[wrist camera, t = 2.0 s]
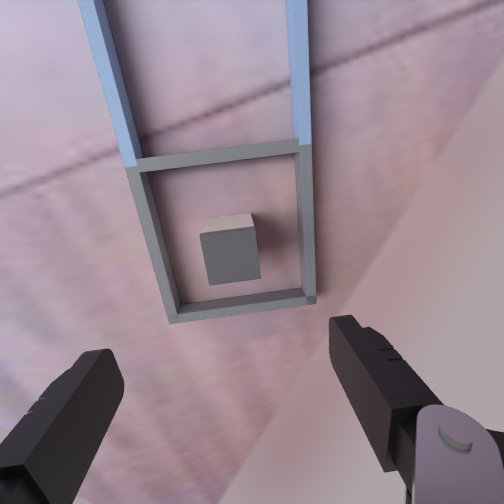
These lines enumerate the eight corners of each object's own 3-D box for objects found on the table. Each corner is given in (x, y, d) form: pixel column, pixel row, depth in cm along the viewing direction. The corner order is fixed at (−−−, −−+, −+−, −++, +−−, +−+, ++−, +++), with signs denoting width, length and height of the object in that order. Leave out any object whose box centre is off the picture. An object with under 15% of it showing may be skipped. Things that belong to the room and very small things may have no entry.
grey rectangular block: (250, 212, 23) (255, 228, 17) (255, 252, 24) (261, 278, 19) (208, 218, 23) (199, 236, 17) (215, 257, 24) (209, 285, 19)
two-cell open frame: (295, -101, 16) (302, -131, 14) (311, 294, 26) (316, 303, 25) (67, -77, 16) (47, -105, 14) (173, 313, 26) (169, 324, 25)
